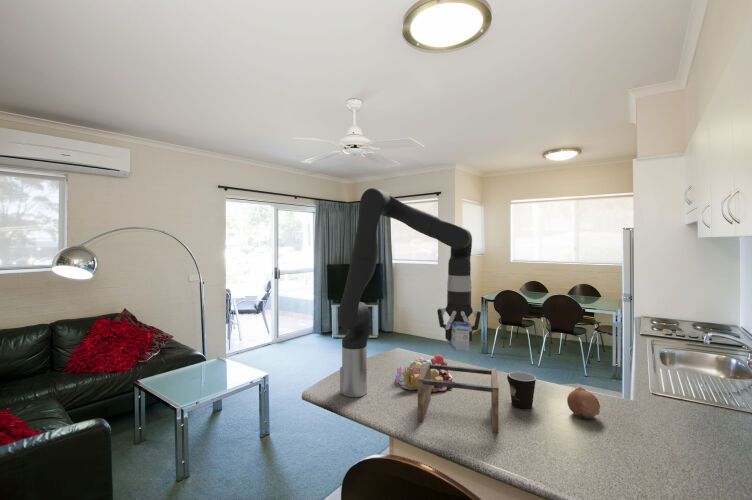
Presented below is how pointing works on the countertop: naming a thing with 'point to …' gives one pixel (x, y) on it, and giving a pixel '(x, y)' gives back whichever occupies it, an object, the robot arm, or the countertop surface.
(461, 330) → the medicine box
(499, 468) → the countertop surface
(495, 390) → the frame
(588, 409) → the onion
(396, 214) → the robot arm
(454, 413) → the countertop surface
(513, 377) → the coffee mug
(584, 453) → the countertop surface
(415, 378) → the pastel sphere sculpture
